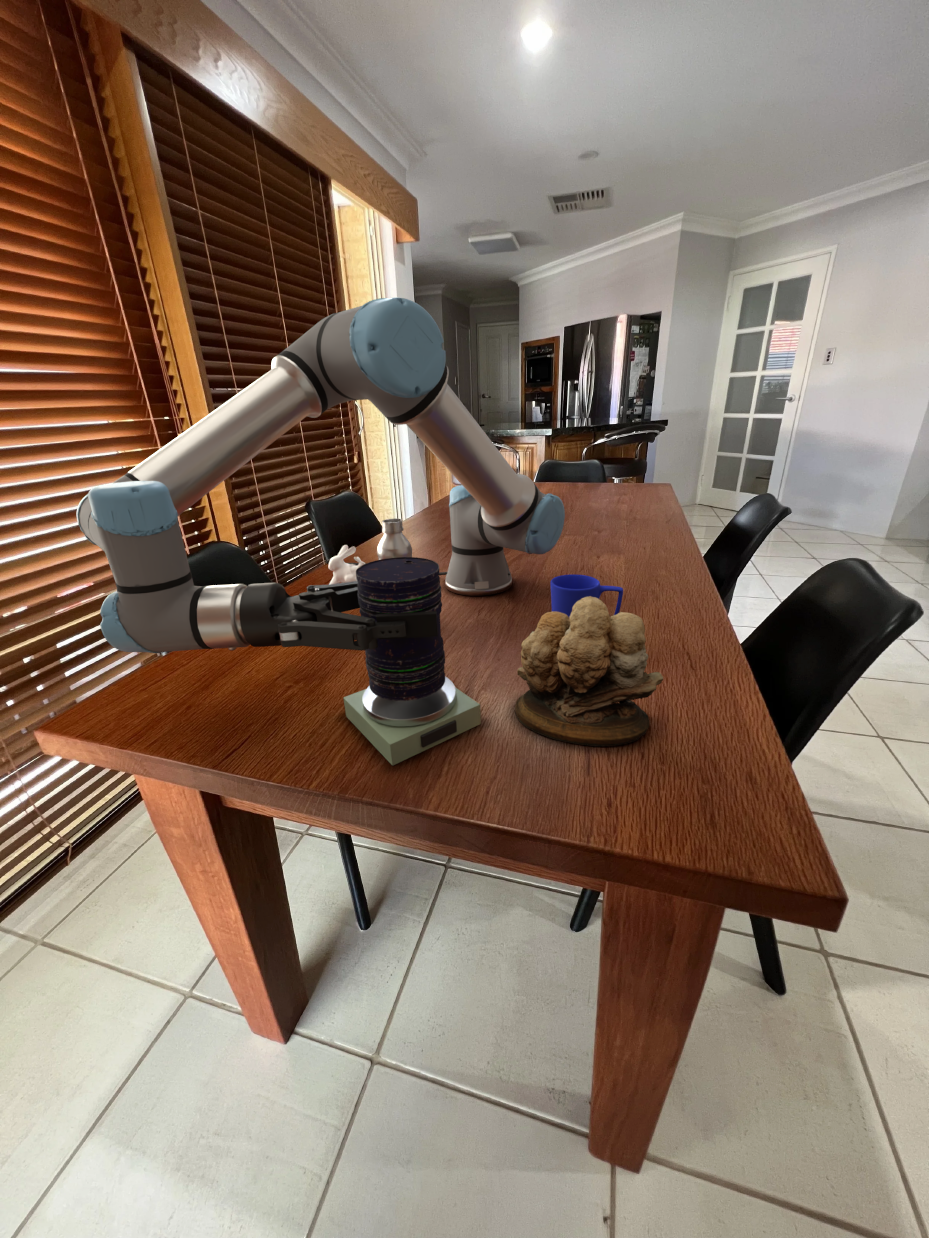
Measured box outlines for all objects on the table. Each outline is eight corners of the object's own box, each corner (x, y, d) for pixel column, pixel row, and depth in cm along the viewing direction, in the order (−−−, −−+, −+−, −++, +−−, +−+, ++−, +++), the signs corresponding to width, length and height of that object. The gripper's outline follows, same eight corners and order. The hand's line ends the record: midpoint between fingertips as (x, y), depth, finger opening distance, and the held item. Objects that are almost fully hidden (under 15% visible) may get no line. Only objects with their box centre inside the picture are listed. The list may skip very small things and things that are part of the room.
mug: (620, 647, 83) (626, 591, 79) (547, 643, 85) (549, 588, 81) (617, 627, 90) (621, 575, 86) (549, 624, 92) (551, 573, 89)
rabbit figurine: (320, 591, 115) (314, 550, 111) (337, 580, 122) (332, 542, 118) (367, 594, 112) (362, 553, 108) (382, 583, 118) (377, 544, 114)
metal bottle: (424, 619, 97) (416, 517, 89) (409, 633, 91) (400, 525, 84) (394, 616, 99) (384, 516, 91) (378, 629, 93) (366, 524, 86)
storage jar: (426, 707, 57) (417, 585, 51) (353, 694, 61) (337, 578, 55) (457, 668, 66) (452, 559, 60) (391, 658, 69) (381, 554, 63)
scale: (345, 716, 67) (342, 697, 66) (427, 684, 74) (425, 666, 73) (393, 767, 57) (391, 746, 56) (482, 725, 64) (482, 705, 63)
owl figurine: (655, 703, 67) (670, 584, 60) (657, 758, 57) (677, 621, 50) (523, 686, 72) (524, 575, 66) (504, 734, 62) (503, 607, 55)
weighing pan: (347, 696, 66) (346, 689, 65) (424, 668, 72) (424, 661, 72) (391, 739, 57) (390, 732, 56) (474, 702, 63) (474, 695, 63)
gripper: (282, 610, 71) (439, 602, 71) (217, 692, 50) (438, 680, 51) (273, 559, 68) (436, 551, 68) (199, 624, 47) (434, 612, 48)
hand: (437, 606), depth 59 cm, fingers closed on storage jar, 10 cm apart
